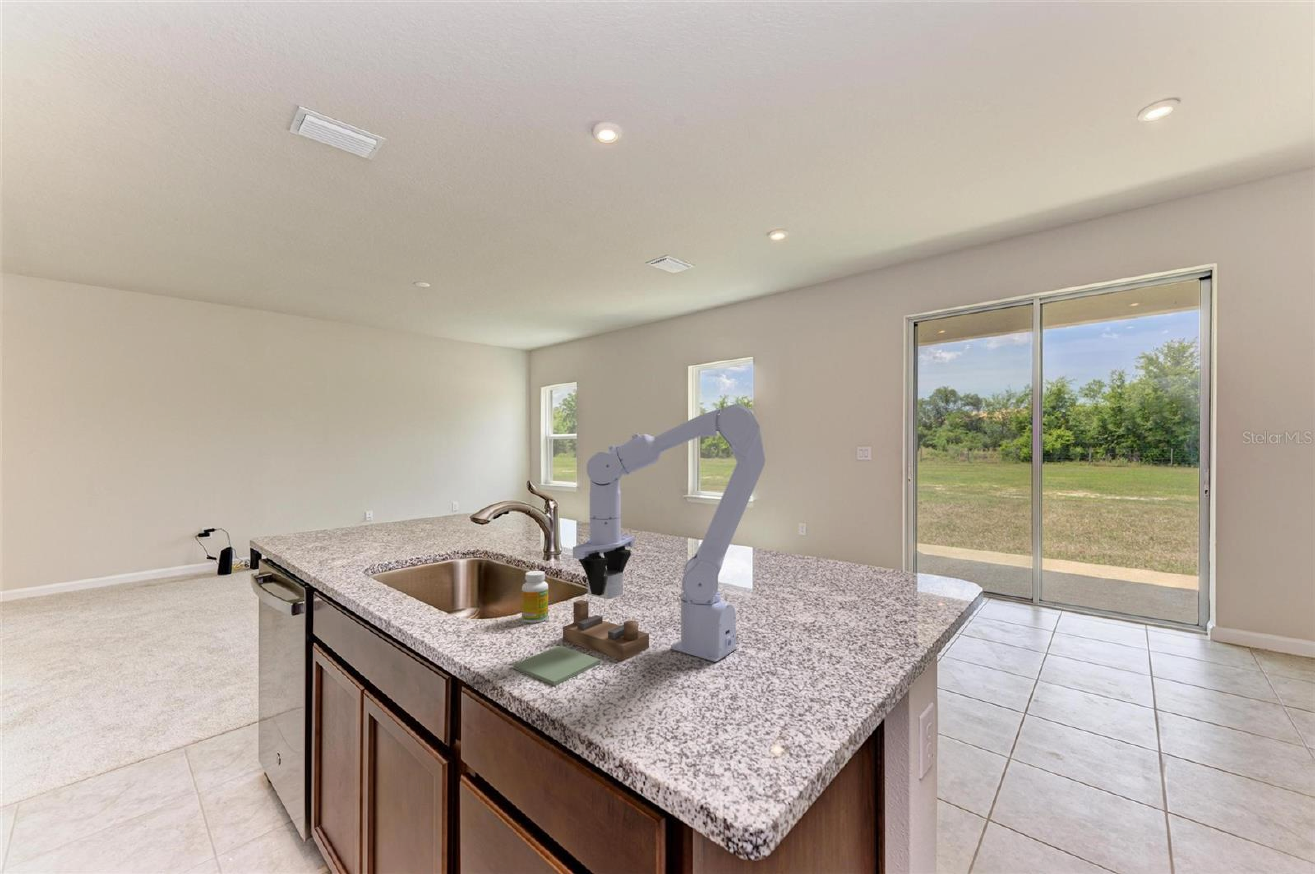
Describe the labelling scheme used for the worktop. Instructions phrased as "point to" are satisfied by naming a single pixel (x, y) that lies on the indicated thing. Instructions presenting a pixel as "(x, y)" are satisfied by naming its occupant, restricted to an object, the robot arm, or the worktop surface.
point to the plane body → (604, 634)
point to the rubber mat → (556, 665)
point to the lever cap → (610, 584)
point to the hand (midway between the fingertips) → (605, 591)
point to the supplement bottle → (535, 597)
